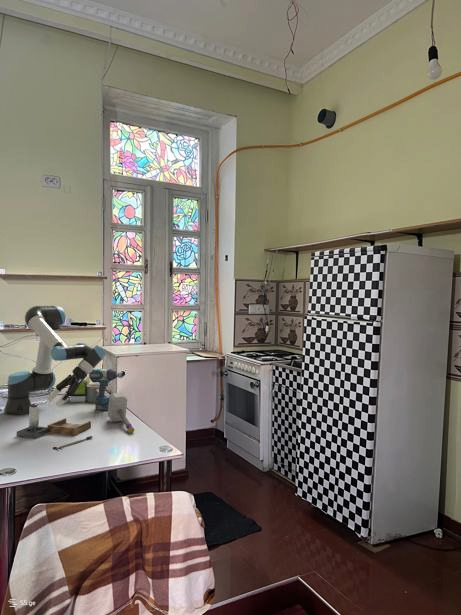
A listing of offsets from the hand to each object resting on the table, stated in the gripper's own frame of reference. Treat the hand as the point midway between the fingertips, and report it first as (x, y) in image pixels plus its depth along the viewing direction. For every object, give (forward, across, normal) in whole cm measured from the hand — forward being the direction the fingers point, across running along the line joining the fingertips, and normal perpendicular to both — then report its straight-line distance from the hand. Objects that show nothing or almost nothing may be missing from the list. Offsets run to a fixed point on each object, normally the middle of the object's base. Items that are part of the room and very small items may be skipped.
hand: (53, 402), depth 222 cm
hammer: (-12, -11, -34) cm, 38 cm away
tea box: (-16, +63, -38) cm, 75 cm away
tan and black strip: (+10, -26, -13) cm, 30 cm away
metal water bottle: (+17, +1, -4) cm, 17 cm away
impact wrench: (-18, +28, -40) cm, 52 cm away
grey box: (-20, +52, -42) cm, 70 cm away
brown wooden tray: (+5, -2, -16) cm, 17 cm away
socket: (+17, +1, -4) cm, 17 cm away
